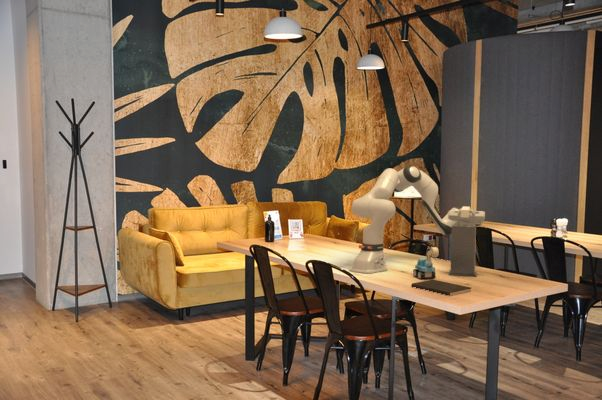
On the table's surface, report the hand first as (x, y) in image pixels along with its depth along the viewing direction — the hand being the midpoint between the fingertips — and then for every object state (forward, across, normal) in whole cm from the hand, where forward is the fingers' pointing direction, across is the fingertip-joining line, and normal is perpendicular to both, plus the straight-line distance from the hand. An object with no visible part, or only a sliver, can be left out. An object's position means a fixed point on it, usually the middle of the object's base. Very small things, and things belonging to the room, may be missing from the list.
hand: (466, 209), depth 337 cm
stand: (0, 0, +38) cm, 38 cm away
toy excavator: (+15, -17, +47) cm, 52 cm away
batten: (+4, 0, +5) cm, 7 cm away
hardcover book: (+34, -8, +58) cm, 68 cm away
